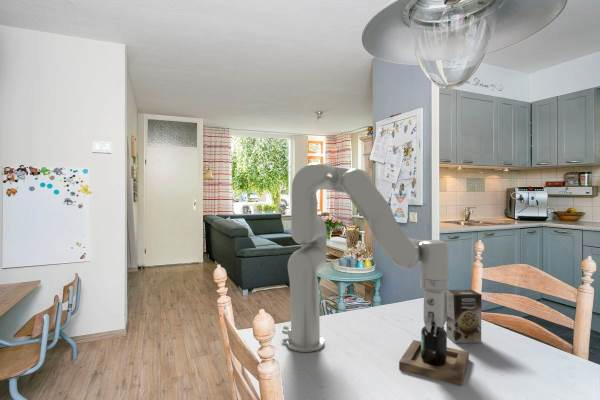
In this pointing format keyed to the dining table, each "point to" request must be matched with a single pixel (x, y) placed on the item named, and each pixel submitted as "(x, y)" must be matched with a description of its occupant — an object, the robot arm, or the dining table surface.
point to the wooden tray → (447, 372)
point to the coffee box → (463, 316)
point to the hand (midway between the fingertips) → (434, 342)
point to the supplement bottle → (431, 355)
